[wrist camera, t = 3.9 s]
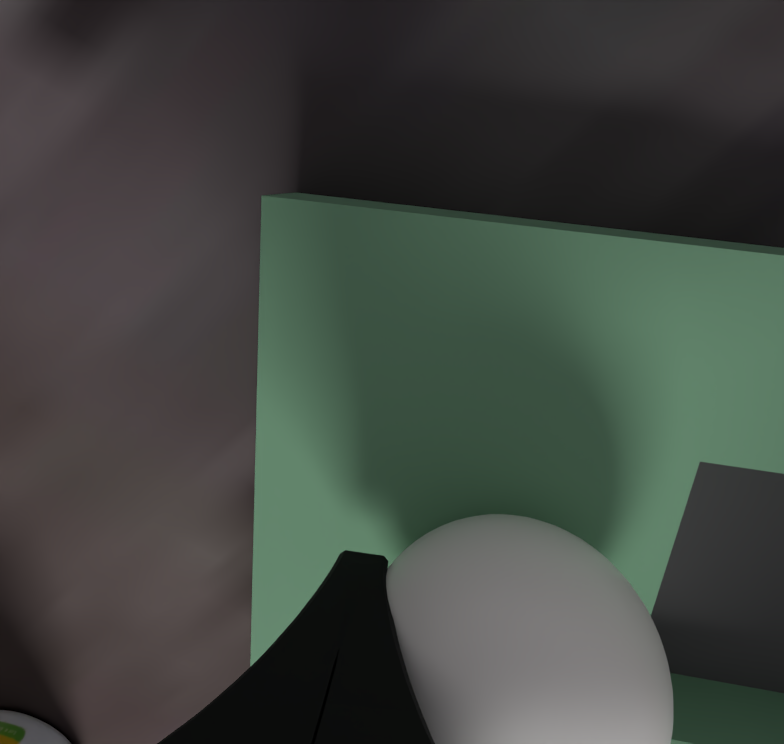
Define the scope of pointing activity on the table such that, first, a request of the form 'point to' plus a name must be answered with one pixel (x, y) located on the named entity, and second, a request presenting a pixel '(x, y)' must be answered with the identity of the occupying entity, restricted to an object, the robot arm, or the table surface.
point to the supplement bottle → (27, 730)
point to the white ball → (526, 638)
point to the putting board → (532, 418)
